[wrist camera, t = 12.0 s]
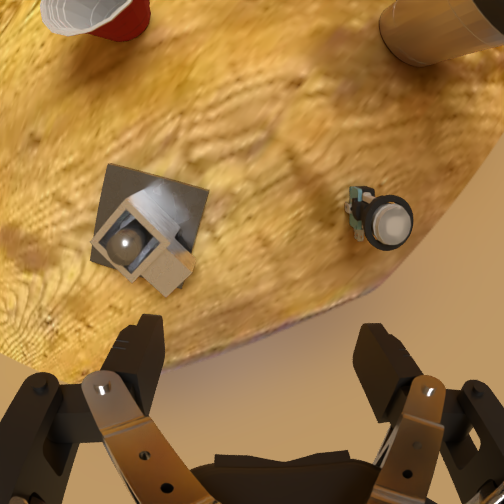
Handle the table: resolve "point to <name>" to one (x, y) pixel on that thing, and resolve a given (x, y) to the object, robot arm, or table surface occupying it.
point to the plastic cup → (97, 17)
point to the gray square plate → (131, 230)
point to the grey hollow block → (160, 255)
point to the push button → (379, 218)
